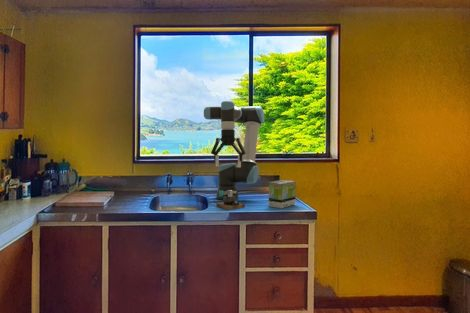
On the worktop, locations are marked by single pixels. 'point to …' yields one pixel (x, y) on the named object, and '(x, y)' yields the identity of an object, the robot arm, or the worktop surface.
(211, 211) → the worktop surface
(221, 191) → the cam capstan
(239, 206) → the stand
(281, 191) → the tea box
